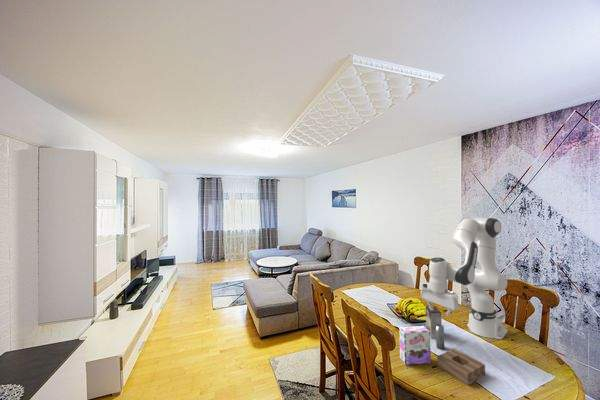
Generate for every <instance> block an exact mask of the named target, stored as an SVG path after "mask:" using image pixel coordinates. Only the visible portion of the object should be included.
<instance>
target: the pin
mask: <svg viewBox="0 0 600 400" xmlns="http://www.w3.org/2000/svg"><path fill="white" fill-rule="evenodd" d="M435 342H436V343H435V344H436V345H435V347H436V349H438V350H441V351H444V350H445V349H446V347H445V326H444V325H442V324H441V325H439V324H437V325H436V339H435Z"/></svg>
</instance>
